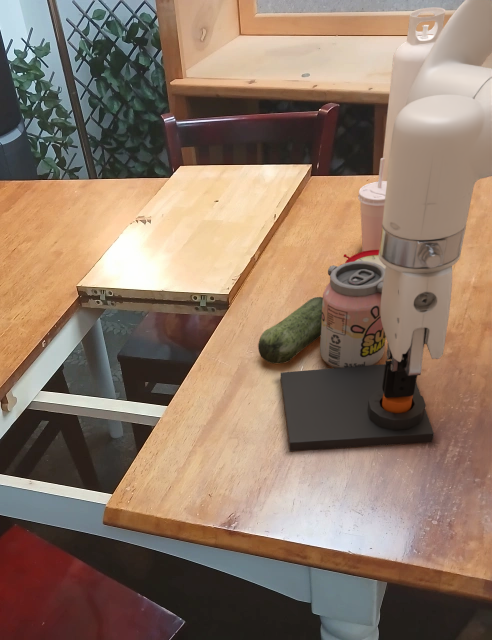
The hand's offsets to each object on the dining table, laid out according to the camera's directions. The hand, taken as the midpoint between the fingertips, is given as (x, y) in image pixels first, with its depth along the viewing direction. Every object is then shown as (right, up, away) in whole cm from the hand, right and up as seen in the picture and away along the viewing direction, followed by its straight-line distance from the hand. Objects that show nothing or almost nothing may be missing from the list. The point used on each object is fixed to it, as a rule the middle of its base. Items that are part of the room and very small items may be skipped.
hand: (397, 392), depth 84 cm
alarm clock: (+6, +18, +23) cm, 29 cm away
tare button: (0, -1, +1) cm, 2 cm away
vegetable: (-7, +9, +17) cm, 21 cm away
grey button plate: (-3, -1, +6) cm, 7 cm away
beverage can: (0, +7, +14) cm, 16 cm away
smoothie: (+9, +27, +32) cm, 43 cm away
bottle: (+17, +39, +41) cm, 58 cm away
